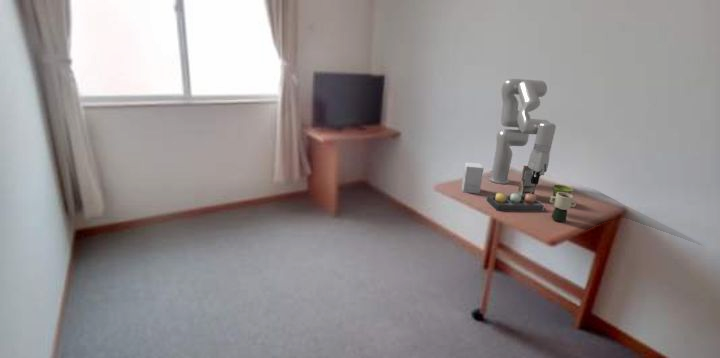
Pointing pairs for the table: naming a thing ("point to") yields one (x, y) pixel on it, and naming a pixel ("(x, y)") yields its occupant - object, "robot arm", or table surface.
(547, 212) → the table surface
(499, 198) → the mustard button
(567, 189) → the plant pot
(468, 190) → the supplement box
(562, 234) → the table surface
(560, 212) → the character mug
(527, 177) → the coffee box
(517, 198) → the sage button
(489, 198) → the panel
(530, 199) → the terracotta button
